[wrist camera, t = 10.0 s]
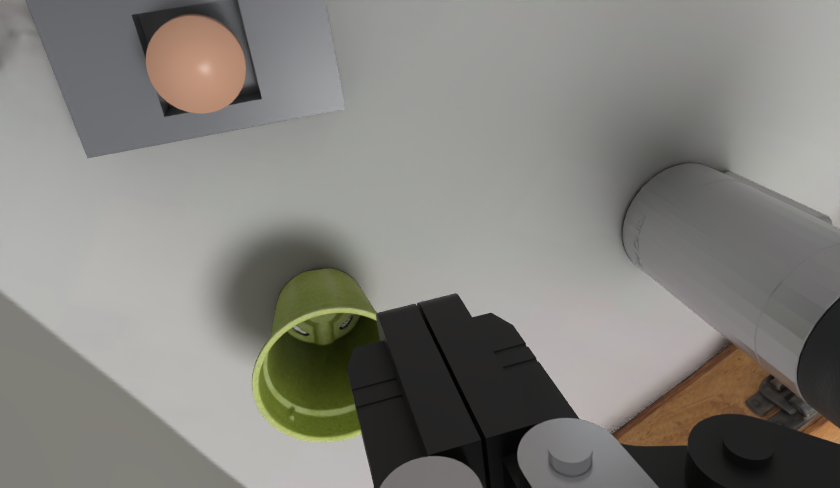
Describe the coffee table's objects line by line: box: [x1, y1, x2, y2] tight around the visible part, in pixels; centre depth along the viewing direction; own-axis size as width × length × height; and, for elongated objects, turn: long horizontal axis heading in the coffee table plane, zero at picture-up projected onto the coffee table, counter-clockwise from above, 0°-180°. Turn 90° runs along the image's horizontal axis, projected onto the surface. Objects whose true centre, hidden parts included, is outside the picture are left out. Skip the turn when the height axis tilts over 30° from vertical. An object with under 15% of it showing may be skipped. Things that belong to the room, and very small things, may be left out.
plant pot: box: [252, 268, 380, 442], centre depth 40 cm, size 9×9×9 cm
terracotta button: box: [146, 14, 246, 114], centre depth 32 cm, size 5×5×4 cm
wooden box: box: [612, 343, 840, 446], centre depth 53 cm, size 30×16×14 cm, turn 126°
